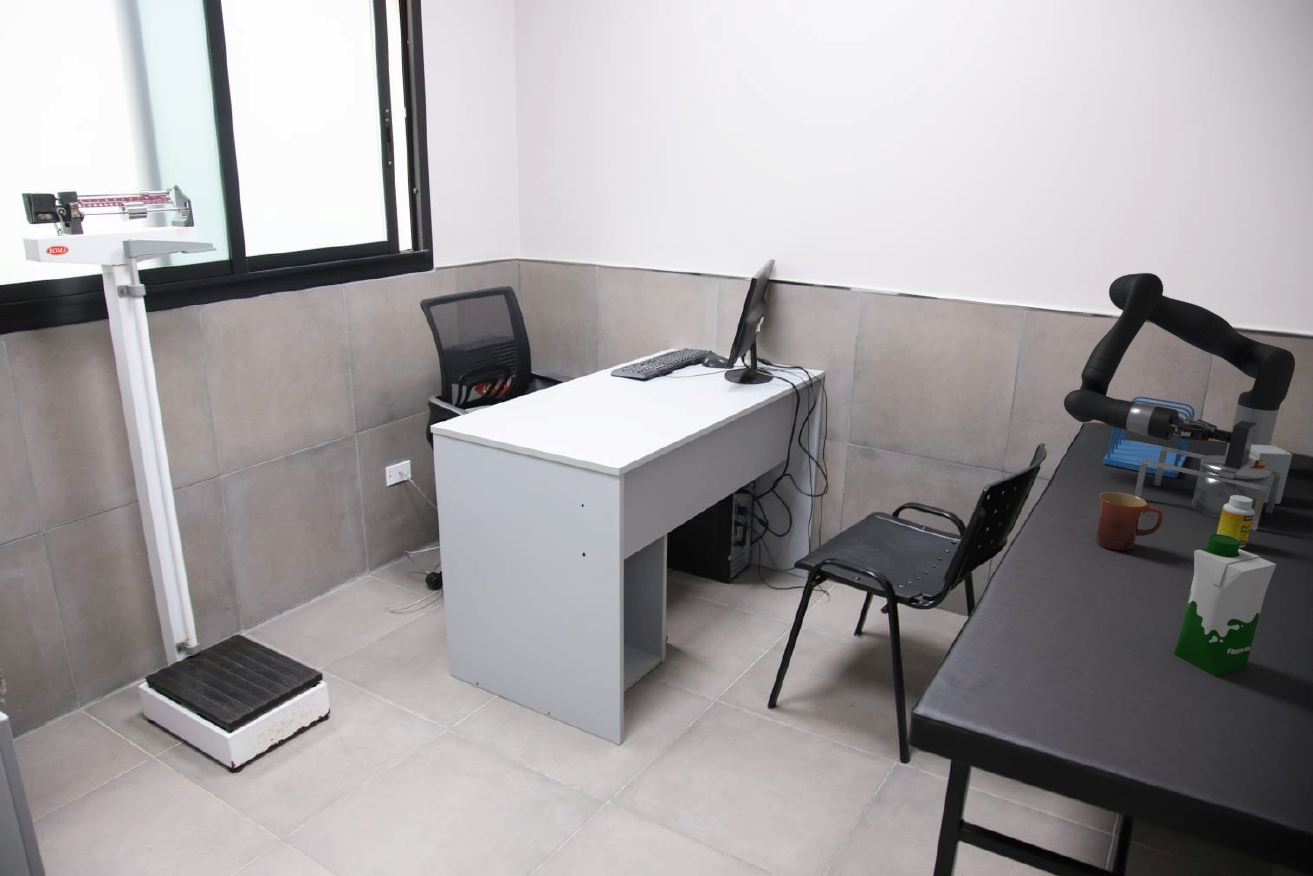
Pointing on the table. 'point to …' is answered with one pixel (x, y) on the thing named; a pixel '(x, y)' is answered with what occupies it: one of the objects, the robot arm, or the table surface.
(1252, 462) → the steel lid
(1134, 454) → the file sorter
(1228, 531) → the supplement bottle
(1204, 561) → the milk carton
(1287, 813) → the table surface
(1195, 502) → the cooker pot
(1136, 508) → the mug
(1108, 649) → the table surface
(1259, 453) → the supplement box
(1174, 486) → the table surface
